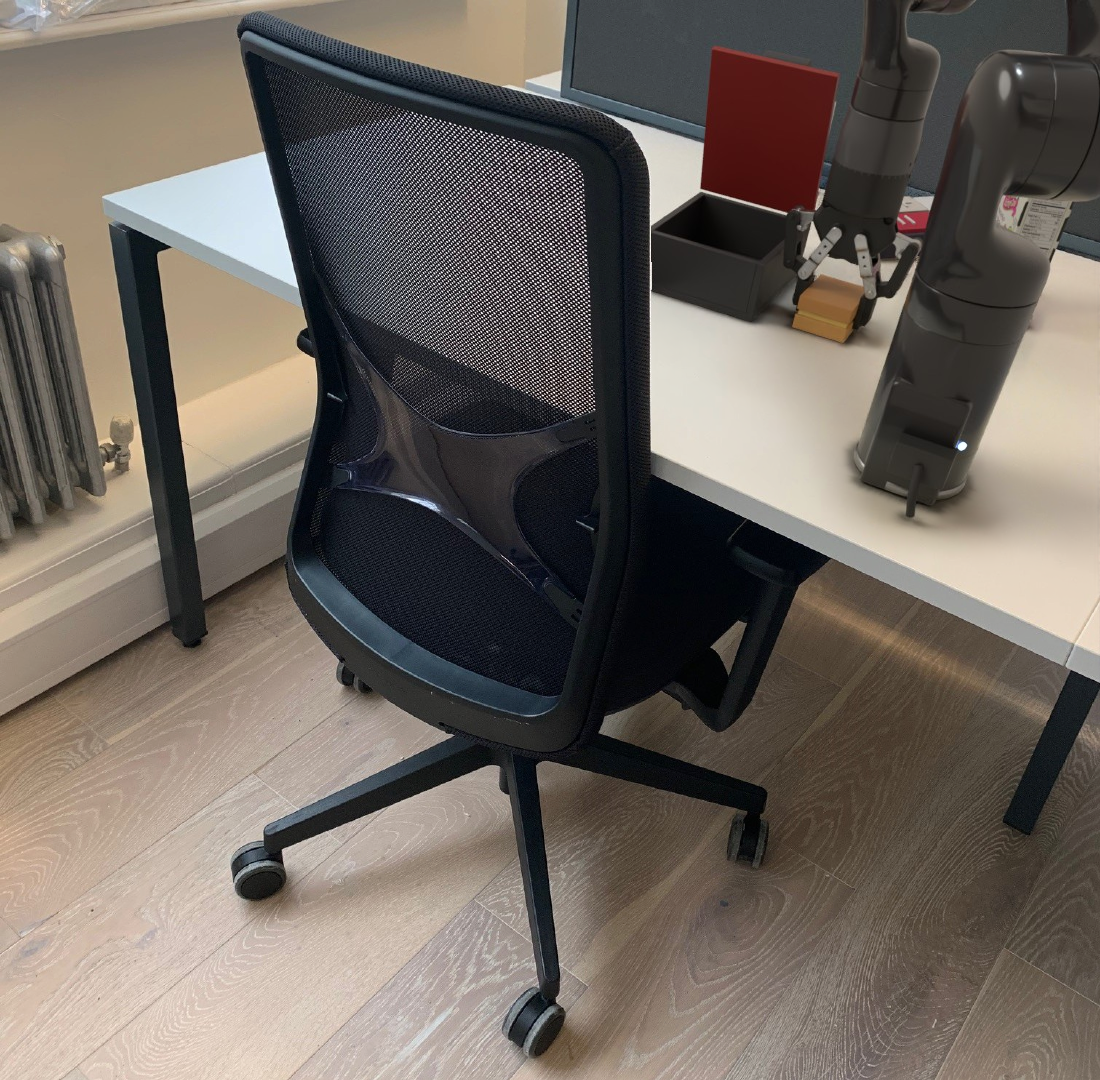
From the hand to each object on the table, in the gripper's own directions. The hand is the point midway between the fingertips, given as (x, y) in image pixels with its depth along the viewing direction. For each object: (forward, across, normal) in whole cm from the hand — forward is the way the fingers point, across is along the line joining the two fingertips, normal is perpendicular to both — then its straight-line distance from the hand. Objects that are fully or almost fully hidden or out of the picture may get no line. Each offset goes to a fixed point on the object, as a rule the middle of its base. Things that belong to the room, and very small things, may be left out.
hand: (829, 318), depth 111 cm
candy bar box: (+1, +14, +18) cm, 23 cm away
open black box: (+1, -14, +2) cm, 14 cm away
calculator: (+1, 0, +29) cm, 29 cm away
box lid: (-14, -14, +8) cm, 21 cm away
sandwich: (+1, 0, 0) cm, 1 cm away
